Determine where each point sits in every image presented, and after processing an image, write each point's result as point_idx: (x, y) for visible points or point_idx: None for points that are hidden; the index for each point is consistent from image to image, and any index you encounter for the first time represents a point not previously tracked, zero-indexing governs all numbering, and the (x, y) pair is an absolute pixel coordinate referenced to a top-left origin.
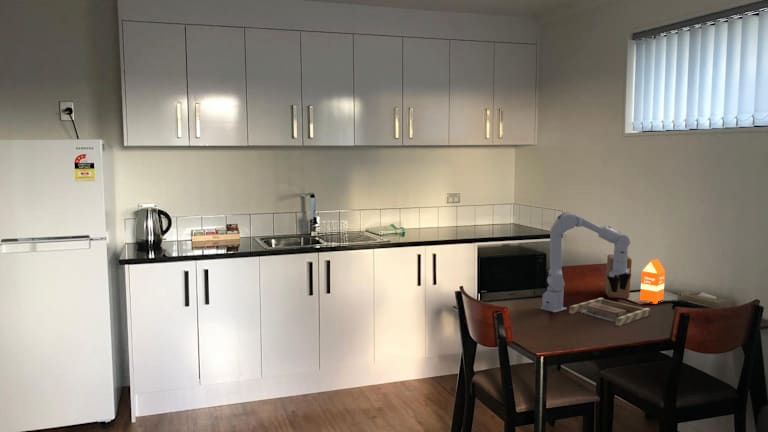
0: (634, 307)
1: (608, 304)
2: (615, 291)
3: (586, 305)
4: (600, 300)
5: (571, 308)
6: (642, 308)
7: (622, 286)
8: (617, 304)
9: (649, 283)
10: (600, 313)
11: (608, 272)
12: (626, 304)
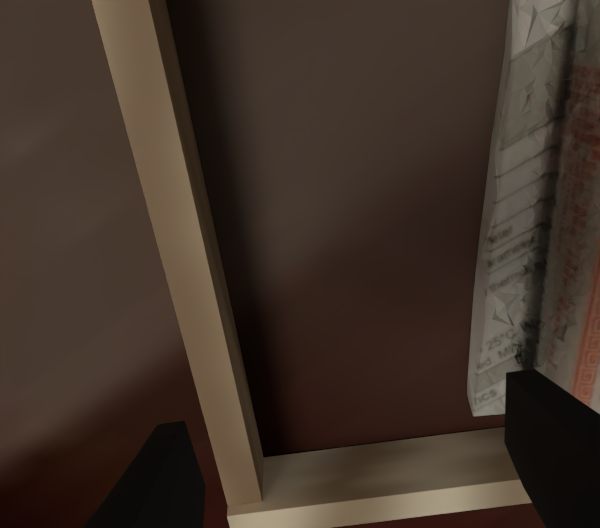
0: (179, 124)
1: (250, 416)
2: (548, 383)
3: None
4: (289, 495)
5: None
6: (123, 4)
7: (186, 503)
8: (230, 343)
9: None
10: None
11: None
12: (170, 268)
